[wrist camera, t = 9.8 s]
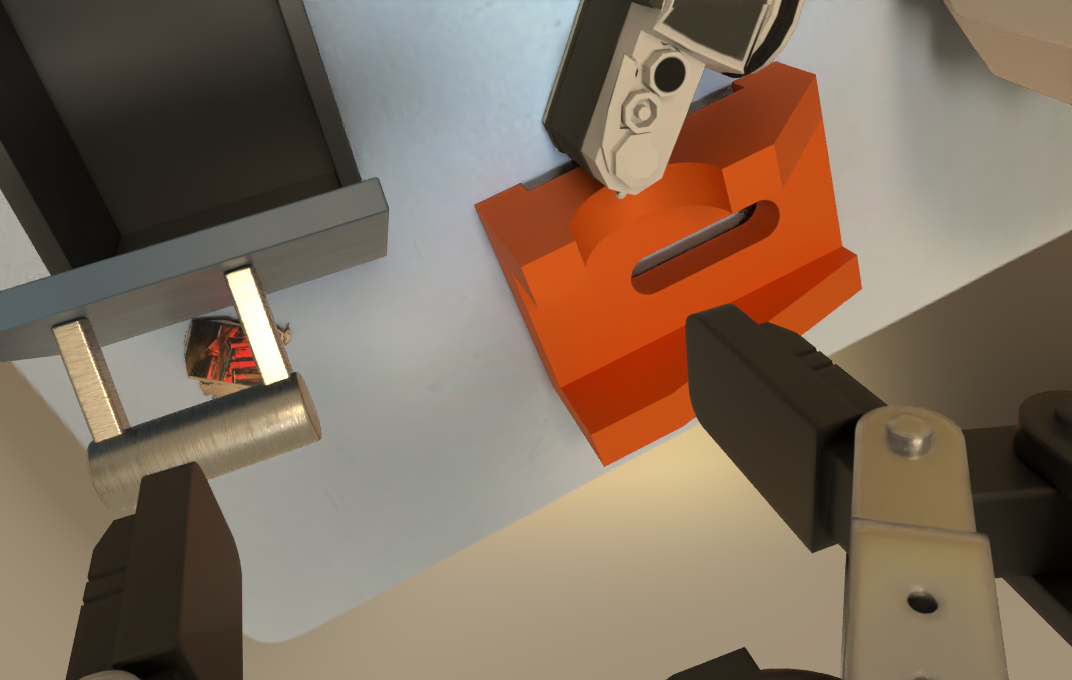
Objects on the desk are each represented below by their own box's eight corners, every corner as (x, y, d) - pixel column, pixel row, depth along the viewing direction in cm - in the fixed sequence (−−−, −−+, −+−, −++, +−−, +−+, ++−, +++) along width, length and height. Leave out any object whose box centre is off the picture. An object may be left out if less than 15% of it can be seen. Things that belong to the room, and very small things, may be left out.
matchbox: (180, 318, 41) (180, 323, 40) (289, 314, 42) (289, 318, 42) (189, 399, 43) (188, 403, 42) (292, 391, 44) (292, 396, 44)
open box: (-54, -69, 31) (-143, -55, 24) (249, -139, 33) (253, -146, 26) (113, 249, 38) (85, 336, 31) (354, 176, 40) (381, 242, 33)
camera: (661, 182, 46) (756, 248, 37) (519, 143, 42) (590, 208, 34) (782, -132, 40) (928, -136, 31) (629, -206, 36) (748, -234, 28)
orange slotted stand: (552, 385, 50) (604, 466, 43) (474, 205, 43) (521, 267, 36) (810, 255, 51) (901, 314, 44) (775, 61, 44) (876, 94, 37)
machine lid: (-182, 345, 16) (-79, 593, 17) (378, 176, 18) (456, 403, 19) (80, 331, 31) (131, 467, 31) (380, 236, 33) (425, 365, 33)
